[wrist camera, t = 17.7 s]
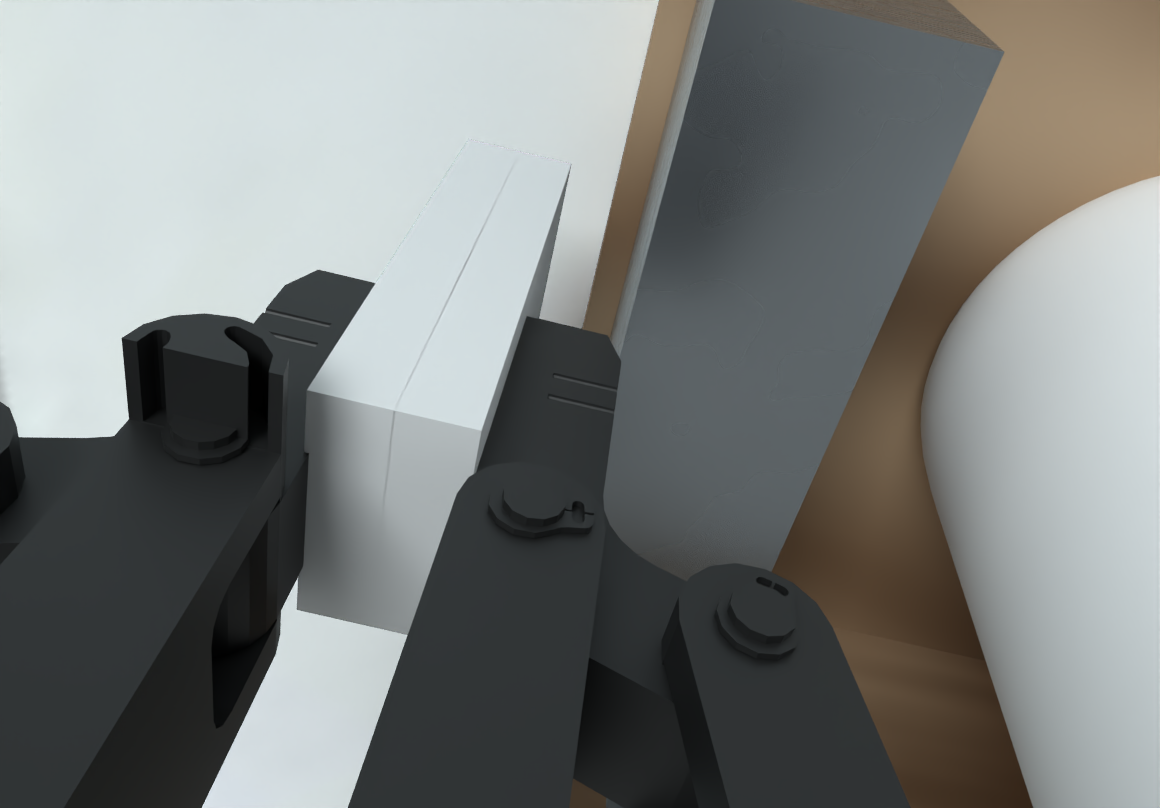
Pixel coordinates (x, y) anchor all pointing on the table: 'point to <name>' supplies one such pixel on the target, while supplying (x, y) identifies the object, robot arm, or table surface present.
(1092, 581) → the cup
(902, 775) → the wooden book rack
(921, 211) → the grey rectangular block
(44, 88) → the table surface
